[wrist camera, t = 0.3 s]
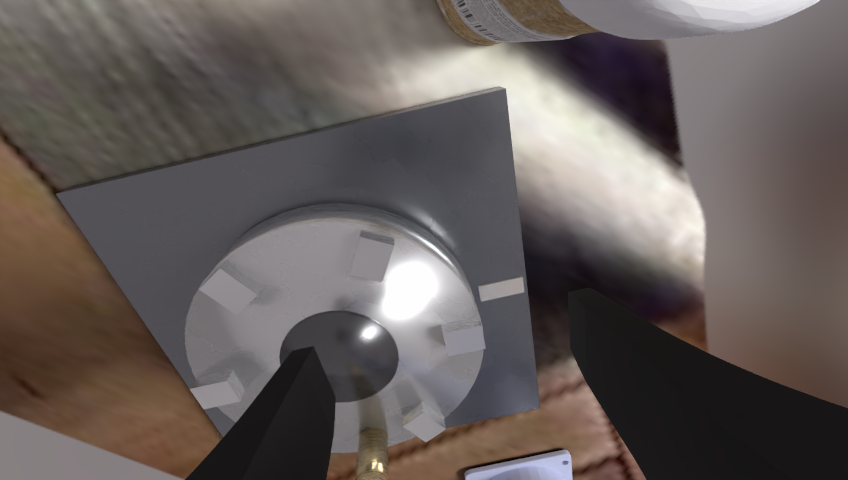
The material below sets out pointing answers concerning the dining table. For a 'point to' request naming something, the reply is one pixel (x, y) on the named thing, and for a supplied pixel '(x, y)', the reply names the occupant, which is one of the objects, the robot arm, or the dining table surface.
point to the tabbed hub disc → (341, 324)
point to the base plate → (327, 184)
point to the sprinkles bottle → (609, 18)
